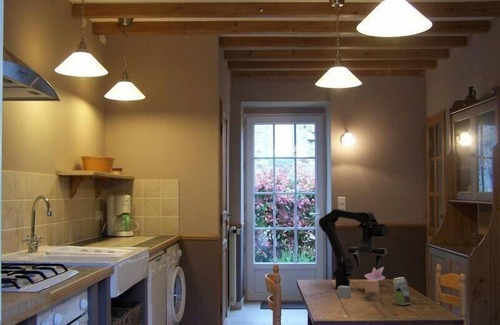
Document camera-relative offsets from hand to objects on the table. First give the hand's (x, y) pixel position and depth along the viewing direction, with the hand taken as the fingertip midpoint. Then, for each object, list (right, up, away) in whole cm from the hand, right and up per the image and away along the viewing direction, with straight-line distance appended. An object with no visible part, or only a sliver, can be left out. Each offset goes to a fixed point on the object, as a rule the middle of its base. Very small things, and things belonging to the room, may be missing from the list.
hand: (367, 267), depth 283 cm
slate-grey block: (-14, -11, -15) cm, 23 cm away
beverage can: (+8, -10, -34) cm, 37 cm away
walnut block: (-2, -11, -22) cm, 25 cm away
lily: (+8, -14, +20) cm, 26 cm away
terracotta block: (-3, -7, -22) cm, 23 cm away
